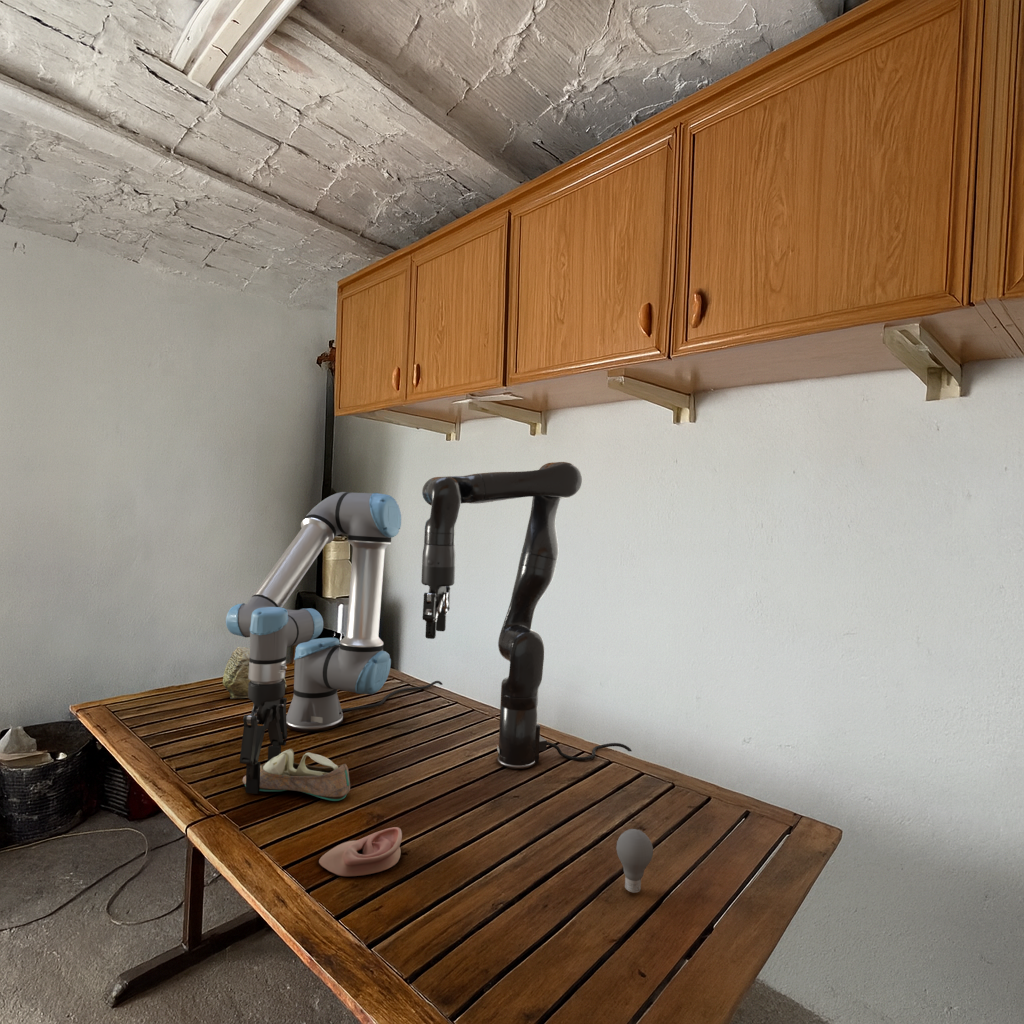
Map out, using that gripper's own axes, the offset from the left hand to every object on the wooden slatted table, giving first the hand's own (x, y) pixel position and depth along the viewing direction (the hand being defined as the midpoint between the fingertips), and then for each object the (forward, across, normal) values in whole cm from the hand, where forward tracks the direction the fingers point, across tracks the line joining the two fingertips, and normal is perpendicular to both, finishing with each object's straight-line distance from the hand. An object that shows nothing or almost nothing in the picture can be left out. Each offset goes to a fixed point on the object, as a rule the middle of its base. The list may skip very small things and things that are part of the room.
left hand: (263, 783), depth 138 cm
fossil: (+1, +56, +35) cm, 66 cm away
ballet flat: (0, 0, -8) cm, 8 cm away
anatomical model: (0, -22, -31) cm, 38 cm away
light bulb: (0, -21, -78) cm, 81 cm away
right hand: (-32, +13, -34) cm, 49 cm away
